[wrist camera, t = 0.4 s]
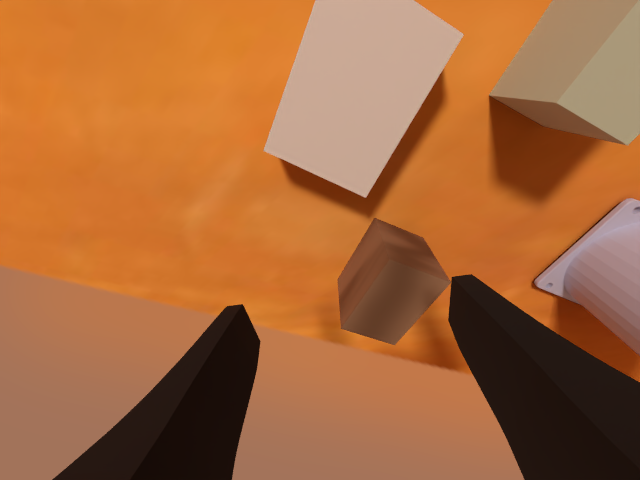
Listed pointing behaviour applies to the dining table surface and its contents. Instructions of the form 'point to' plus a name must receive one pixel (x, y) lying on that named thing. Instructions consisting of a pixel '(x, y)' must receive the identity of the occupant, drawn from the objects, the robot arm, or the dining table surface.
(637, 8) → the sage brick
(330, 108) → the pale grey brick
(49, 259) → the dining table surface
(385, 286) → the walnut brick
